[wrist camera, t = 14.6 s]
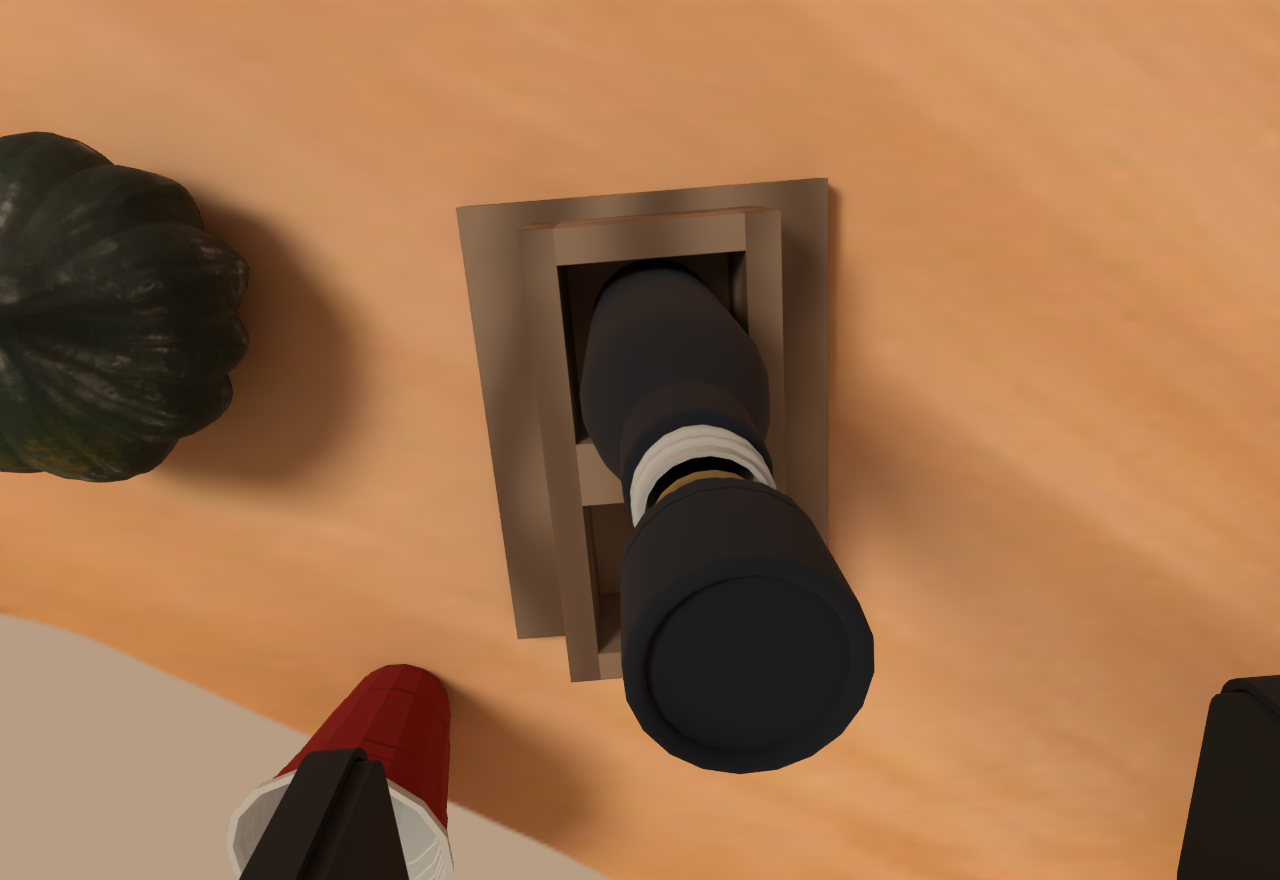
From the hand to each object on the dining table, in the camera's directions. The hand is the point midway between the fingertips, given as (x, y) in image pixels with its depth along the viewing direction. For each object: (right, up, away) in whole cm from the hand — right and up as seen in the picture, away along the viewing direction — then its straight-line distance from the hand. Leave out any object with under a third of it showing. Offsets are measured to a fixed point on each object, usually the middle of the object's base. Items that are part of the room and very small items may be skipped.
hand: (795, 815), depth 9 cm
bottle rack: (-1, +5, +35) cm, 35 cm away
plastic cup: (-16, -12, +40) cm, 45 cm away
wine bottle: (-1, +10, +31) cm, 33 cm away
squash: (-27, +12, +32) cm, 44 cm away
